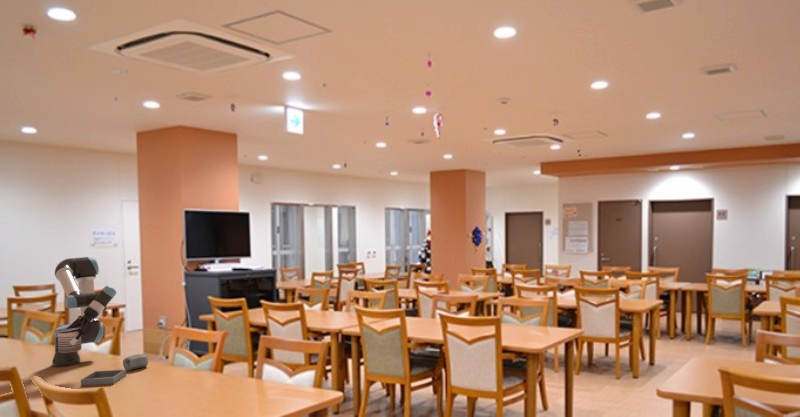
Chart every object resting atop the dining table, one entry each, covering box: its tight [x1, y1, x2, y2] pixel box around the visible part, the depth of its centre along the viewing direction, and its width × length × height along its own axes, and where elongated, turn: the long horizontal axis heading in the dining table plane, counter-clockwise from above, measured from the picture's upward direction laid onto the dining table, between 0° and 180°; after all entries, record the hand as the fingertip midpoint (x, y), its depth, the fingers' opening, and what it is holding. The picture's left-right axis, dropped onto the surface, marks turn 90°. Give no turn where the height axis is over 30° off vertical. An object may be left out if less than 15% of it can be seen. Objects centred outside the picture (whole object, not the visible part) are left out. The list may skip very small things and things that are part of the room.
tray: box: [80, 369, 127, 387], centre depth 316 cm, size 17×17×4 cm
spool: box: [122, 353, 149, 372], centre depth 339 cm, size 14×10×10 cm
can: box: [58, 328, 82, 353], centre depth 323 cm, size 11×11×12 cm
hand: (66, 342), depth 321 cm, fingers closed on can, 11 cm apart
